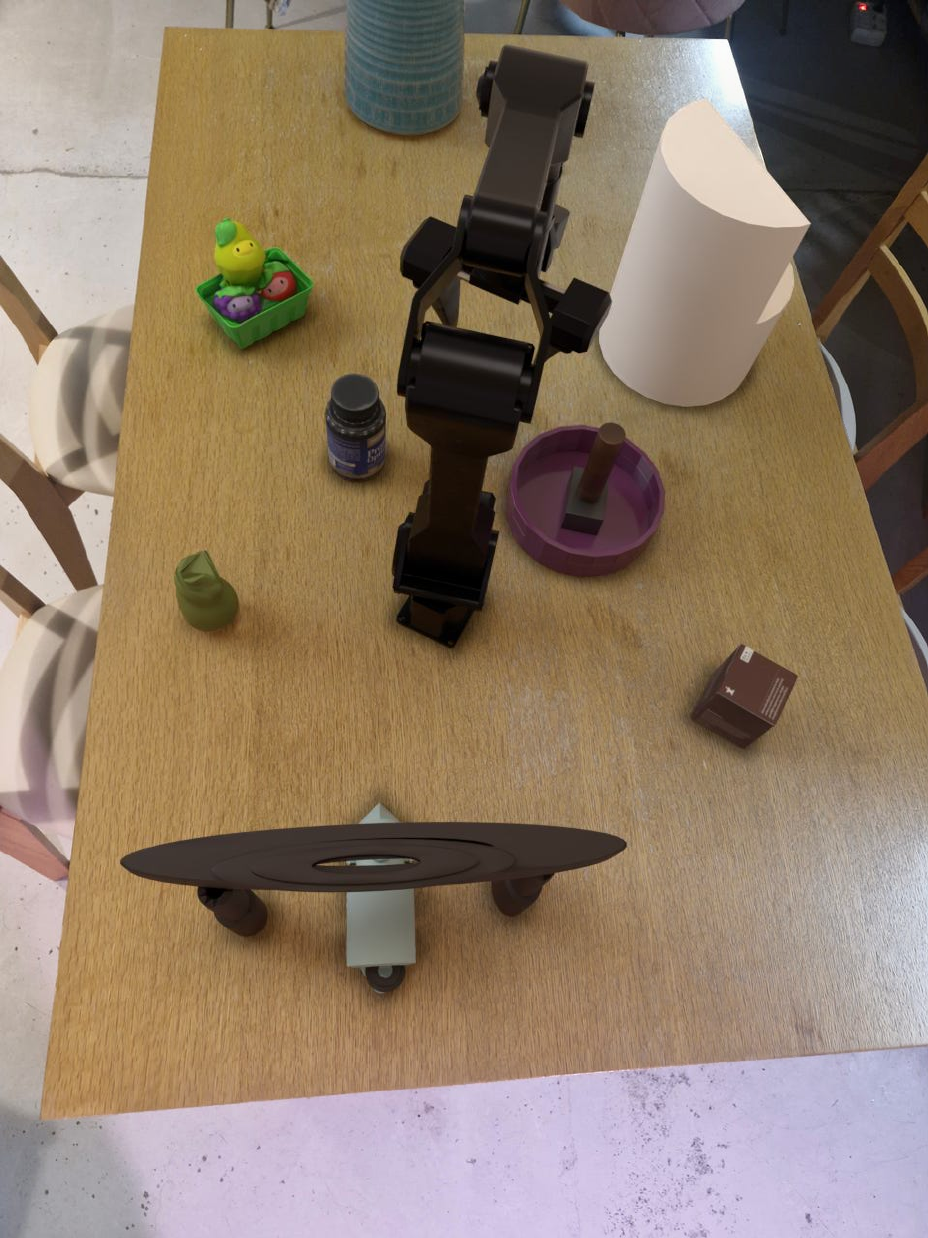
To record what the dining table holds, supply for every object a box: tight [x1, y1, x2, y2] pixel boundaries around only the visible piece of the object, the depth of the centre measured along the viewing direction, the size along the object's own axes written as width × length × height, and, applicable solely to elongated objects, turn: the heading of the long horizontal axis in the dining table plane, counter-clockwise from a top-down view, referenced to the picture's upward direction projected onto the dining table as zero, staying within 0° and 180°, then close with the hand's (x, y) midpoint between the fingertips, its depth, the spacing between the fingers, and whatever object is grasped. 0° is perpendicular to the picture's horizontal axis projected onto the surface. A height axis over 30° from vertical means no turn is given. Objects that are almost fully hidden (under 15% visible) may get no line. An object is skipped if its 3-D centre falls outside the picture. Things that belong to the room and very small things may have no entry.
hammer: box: [561, 421, 627, 535], centre depth 86 cm, size 6×4×13 cm, turn 169°
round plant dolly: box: [119, 802, 628, 995], centre depth 64 cm, size 16×21×33 cm
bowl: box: [504, 424, 666, 578], centre depth 90 cm, size 16×16×4 cm
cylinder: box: [598, 97, 812, 408], centre depth 92 cm, size 19×19×25 cm
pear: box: [173, 549, 240, 633], centre depth 78 cm, size 6×5×10 cm
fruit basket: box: [195, 216, 315, 350], centre depth 95 cm, size 11×9×11 cm
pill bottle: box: [324, 373, 387, 482], centre depth 87 cm, size 6×6×11 cm
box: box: [690, 643, 799, 750], centre depth 80 cm, size 6×6×7 cm
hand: (493, 350), depth 84 cm, fingers open, 9 cm apart
